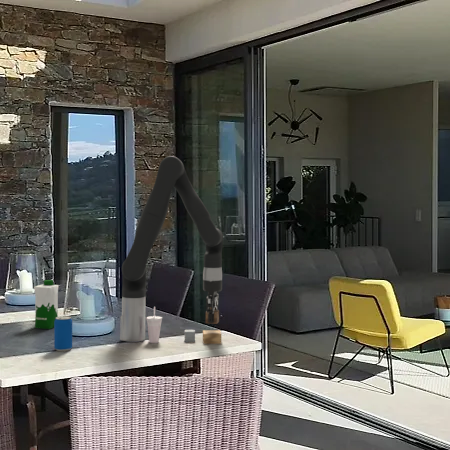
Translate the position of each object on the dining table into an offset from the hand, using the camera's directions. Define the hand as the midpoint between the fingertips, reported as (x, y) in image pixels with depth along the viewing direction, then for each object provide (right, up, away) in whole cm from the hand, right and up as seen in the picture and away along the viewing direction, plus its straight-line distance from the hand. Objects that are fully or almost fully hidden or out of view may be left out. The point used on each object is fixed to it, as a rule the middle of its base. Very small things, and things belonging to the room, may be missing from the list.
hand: (212, 321), depth 264 cm
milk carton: (-72, -6, +24) cm, 76 cm away
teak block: (0, -8, 0) cm, 8 cm away
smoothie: (-23, -8, -2) cm, 24 cm away
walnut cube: (0, 0, 0) cm, 0 cm away
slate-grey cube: (-9, -8, +2) cm, 12 cm away
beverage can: (-55, -8, -16) cm, 58 cm away
